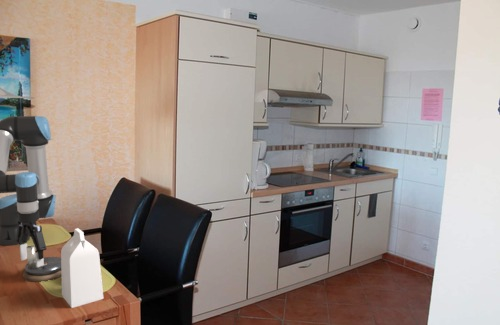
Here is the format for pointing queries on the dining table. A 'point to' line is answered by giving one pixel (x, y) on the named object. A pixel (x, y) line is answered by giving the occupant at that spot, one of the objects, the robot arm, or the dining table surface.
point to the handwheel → (48, 268)
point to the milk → (80, 271)
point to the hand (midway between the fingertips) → (32, 262)
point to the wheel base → (41, 277)
